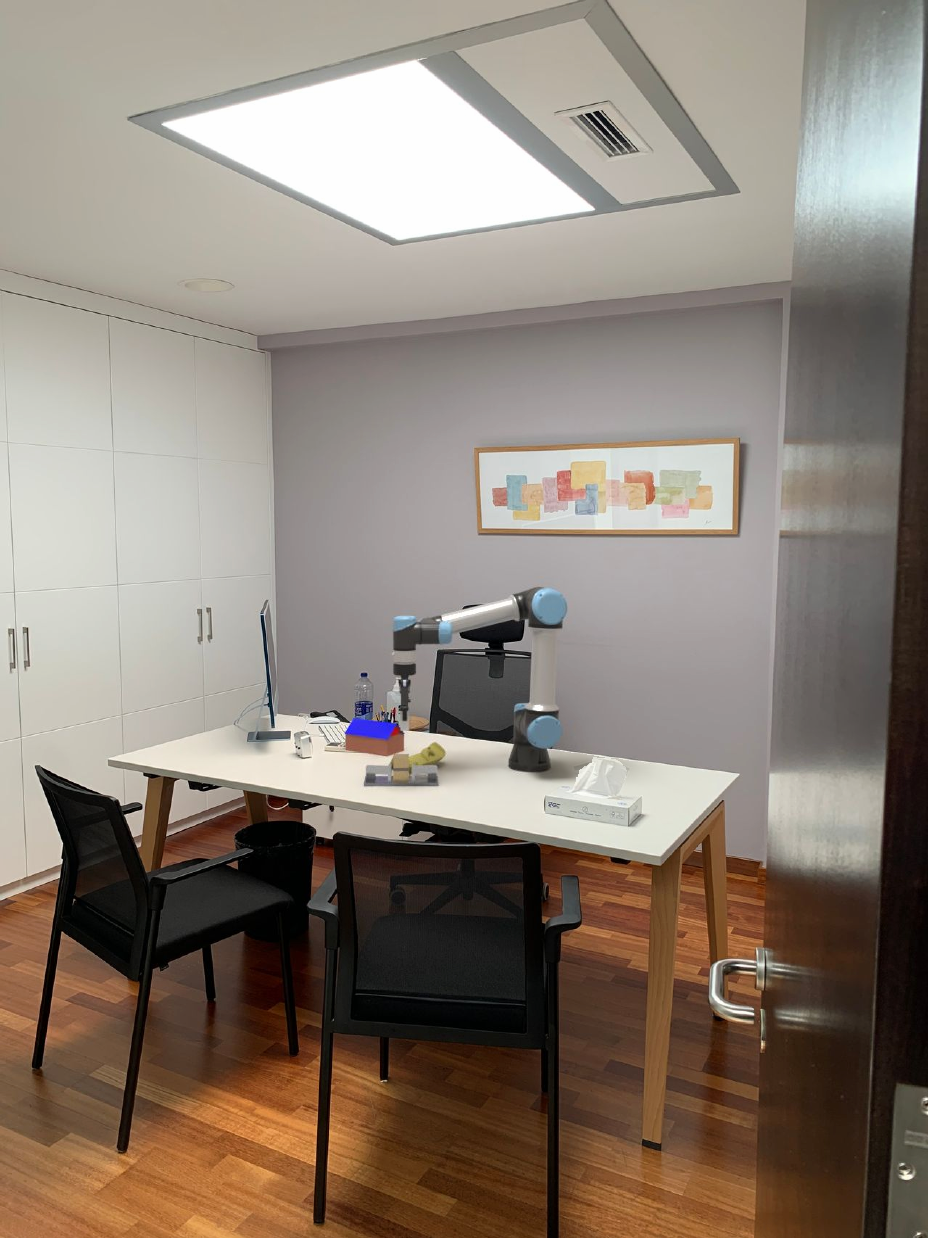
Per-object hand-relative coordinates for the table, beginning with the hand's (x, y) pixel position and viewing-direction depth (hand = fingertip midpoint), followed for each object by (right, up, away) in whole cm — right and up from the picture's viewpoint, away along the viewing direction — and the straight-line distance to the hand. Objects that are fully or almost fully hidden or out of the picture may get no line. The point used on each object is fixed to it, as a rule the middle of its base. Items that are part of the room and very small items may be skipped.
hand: (404, 726), depth 303 cm
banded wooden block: (-1, -18, +1) cm, 18 cm away
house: (-15, -15, +47) cm, 51 cm away
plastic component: (+4, -18, +22) cm, 28 cm away
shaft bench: (-1, -19, +1) cm, 19 cm away
